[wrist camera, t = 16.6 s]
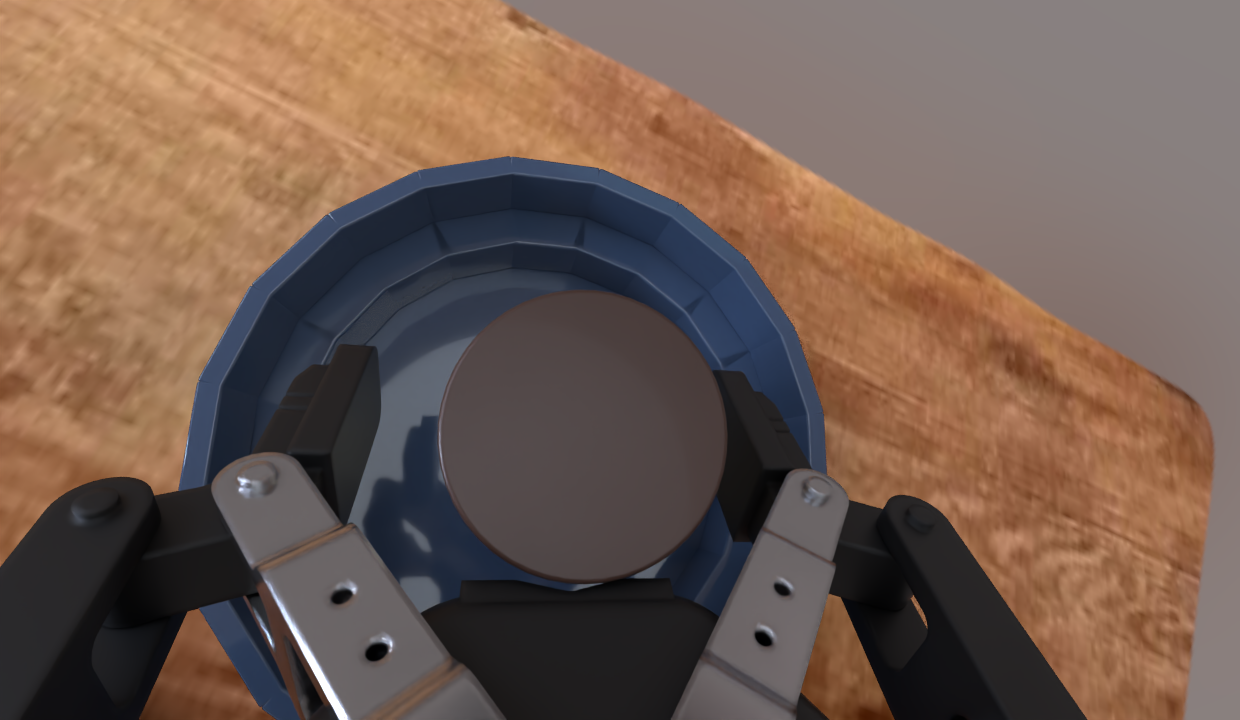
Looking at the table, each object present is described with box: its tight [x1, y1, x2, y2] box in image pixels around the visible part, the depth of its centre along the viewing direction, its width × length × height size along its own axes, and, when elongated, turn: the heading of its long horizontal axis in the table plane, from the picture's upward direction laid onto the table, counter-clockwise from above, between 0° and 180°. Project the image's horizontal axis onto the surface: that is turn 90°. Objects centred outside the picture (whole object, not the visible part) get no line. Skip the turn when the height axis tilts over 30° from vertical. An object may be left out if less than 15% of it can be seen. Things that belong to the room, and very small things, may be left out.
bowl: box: [179, 156, 827, 720], centre depth 18 cm, size 17×17×6 cm
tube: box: [438, 290, 728, 584], centre depth 15 cm, size 4×4×12 cm
